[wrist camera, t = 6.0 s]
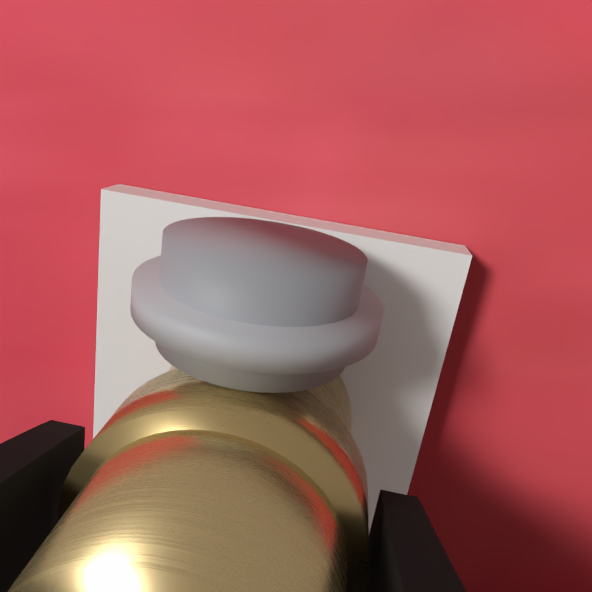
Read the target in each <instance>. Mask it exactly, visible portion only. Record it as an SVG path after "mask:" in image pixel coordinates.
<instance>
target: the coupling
mask: <svg viewBox="0 0 592 592" xmlns="http://www.w3.org/2000/svg"><path fill="white" fill-rule="evenodd" d="M351 418H352V412H351V404H350V399H349V395H348V392H347V389H346V387H345V384H344V382H343V380H342V378H341V377H340V375H339V376H338V377H337V378H335V379H334V380H332V381H331V382H329V383H326V384H324V385H322V386H319V387H315V388H312V389H307V390H302V391H295V392H283V393H263V392H251V391H242V390H236V389H231V388H226V387H222V386H218V385H214V384H211V383H208V382H205V381H202V380H199V379H197V378H194V377H192V376H190V375H188V374H186V373H184V372H182V371H180V370H179V369H177V368H176V367H174V366H173V365H172V366H171V368H170V369H169V370H168V372H166V373H163V374H161V375H159V376H157V377H155V378H153V379H151V380H149V381H147V382H146V383H145V384H143V385H142V386H140V387H139V388H138V389H136V390H135V391H134V392H133V393H132V394H131V395H130V396H129V397H128V398H127V399H126V400H124V401H123V403H122V404H121V405H120V406H119V408H118V409H117V410H116V411H115V413H114V414H113V415H112V416H111V418H110V419H109V420H108V421H107V423H106V424H105V425H104V426H103V428H102V429H101V430H100V431H99V433H98V434H97V435H96V436H95V437H94V439H93V440H92V441H91V442H90V444H89V445H88V446H87V447H86V449H85V450H84V451H83V452H82V454H81V455H80V456H79V458H78V459H77V461H76V462H75V463H74V465H73V466H72V468H71V470H70V472H69V474H68V476H67V478H66V480H65V482H64V485H63V489H62V492H61V495H60V502H59V509H58V523H57V524H56V525H55V527H54V528H53V530H52V531H51V532H50V534H49V535H48V536H47V538H46V539H45V541H44V542H43V543H42V545H41V546H40V547H39V549H38V550H37V552H36V553H35V554H34V556H33V557H32V558H31V560H30V561H29V563H28V564H27V565H26V567H25V568H24V569H23V571H22V572H21V574H20V575H19V576H18V578H17V579H16V580H15V582H14V583H13V584H12V586H11V587H10V589H9V590H8V591H7V592H363V589H364V587H365V583H366V578H367V574H368V567H369V520H368V484H367V476H366V470H365V466H364V463H363V459H362V456H361V453H360V451H359V449H358V447H357V444H356V442H355V440H354V439H353V437H352V435H351Z"/></svg>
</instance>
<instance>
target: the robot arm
mask: <svg viewBox="0 0 592 592" xmlns="http://www.w3.org/2000/svg"><path fill="white" fill-rule="evenodd" d="M84 438H85V427H82V426H77V425H72V424H68V423H63V422H58V421H53V420H50V421H48V422H46V423H43V424H41V425H39V426H37V427H34V428H32V429H30V430H28V431H26V432H24V433H22V434H20V435H18V436H16V437H13V438H11V439H9V440H7V441H5V442H3V443H1V444H0V592H7V591H8V590H9V589H10V587H11V586H12V584H13V583H14V582H15V580H16V579H17V578H18V576H19V575H20V574H21V572H22V571H23V569H24V568H25V567H26V565H27V564H28V563H29V561H30V560H31V558H32V557H33V556H34V554H35V553H36V552H37V550H38V549H39V547H40V546H41V545H42V543H43V542H44V541H45V539H46V538H47V536H48V535H49V534H50V532H51V531H52V530H53V528H54V527H55V525H56V524H57V523H58V509H59V502H60V495H61V492H62V489H63V485H64V482H65V480H66V478H67V476H68V474H69V472H70V470H71V468H72V466H73V465H74V463H75V462H76V461H77V459H78V458H79V456H80V455H81V454H82V452H83V451H84ZM363 592H467V591H466V589H465V587H464V585H463V584H462V582H461V580H460V578H459V576H458V575H457V573H456V571H455V569H454V567H453V565H452V563H451V562H450V560H449V558H448V556H447V554H446V552H445V550H444V548H443V546H442V544H441V542H440V540H439V538H438V536H437V534H436V532H435V530H434V528H433V526H432V524H431V522H430V520H429V518H428V516H427V514H426V512H425V510H424V508H423V506H422V504H421V502H420V501H419V499H418V498H417V497H414V496H409V495H404V494H400V493H395V492H390V491H385V490H381V489H380V493H379V497H378V501H377V505H376V509H375V513H374V517H373V520H372V524H371V528H370V532H369V567H368V574H367V578H366V583H365V587H364V589H363Z"/></svg>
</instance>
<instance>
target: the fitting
mask: <svg viewBox="0 0 592 592" xmlns="http://www.w3.org/2000/svg"><path fill="white" fill-rule="evenodd" d="M471 259H472V254H471V253H470V252H469V250H468V249H467V248H466V246H465V245H459V244H454V243H448V242H442V241H437V240H431V239H426V238H420V237H414V236H409V235H403V234H398V233H392V232H386V231H381V230H375V229H369V228H364V227H358V226H353V225H347V224H341V223H336V222H330V221H325V220H319V219H313V218H308V217H302V216H297V215H291V214H285V213H280V212H274V211H268V210H263V209H257V208H252V207H246V206H240V205H235V204H229V203H224V202H218V201H212V200H207V199H201V198H196V197H190V196H184V195H179V194H173V193H167V192H162V191H156V190H151V189H145V188H139V187H134V186H128V185H123V184H117V185H114V186H110V187H107V188H104V189H101V210H100V241H99V272H98V303H97V335H96V366H95V397H94V428H93V439H94V437H95V436H96V435H97V434H98V433H99V431H100V430H101V429H102V428H103V426H104V425H105V424H106V423H107V421H108V420H109V419H110V418H111V416H112V415H113V414H114V413H115V411H116V410H117V409H118V408H119V406H120V405H121V404H122V403H123V401H124V400H126V399H127V398H128V397H129V396H130V395H131V394H132V393H133V392H134V391H135V390H136V389H138V388H139V387H140V386H142V385H143V384H145V383H146V382H147V381H149V380H151V379H153V378H155V377H157V376H159V375H161V374H163V373H166V372H168V370H169V369H170V368H171V366H172V365H173V366H174V367H176V368H177V369H179V370H180V371H182V372H184V373H186V374H188V375H190V376H192V377H194V378H197V379H199V380H202V381H205V382H208V383H211V384H214V385H218V386H222V387H226V388H231V389H236V390H242V391H251V392H263V393H283V392H295V391H302V390H307V389H312V388H315V387H319V386H322V385H324V384H326V383H329V382H331V381H332V380H334V379H335V378H337V377H338V376H339V375H340V377H341V378H342V380H343V382H344V384H345V387H346V389H347V392H348V395H349V399H350V404H351V412H352V418H351V435H352V437H353V439H354V440H355V442H356V444H357V447H358V449H359V451H360V453H361V456H362V459H363V463H364V466H365V470H366V476H367V484H368V520H369V532H370V528H371V524H372V520H373V517H374V513H375V509H376V505H377V501H378V497H379V493H380V489H381V490H385V491H390V492H395V493H400V494H404V495H407V493H408V490H409V486H410V482H411V479H412V475H413V472H414V468H415V464H416V461H417V457H418V453H419V450H420V446H421V442H422V439H423V435H424V431H425V428H426V424H427V420H428V417H429V413H430V409H431V406H432V402H433V398H434V395H435V391H436V387H437V384H438V380H439V376H440V373H441V369H442V365H443V362H444V358H445V354H446V351H447V347H448V343H449V340H450V336H451V332H452V329H453V325H454V321H455V318H456V314H457V311H458V307H459V303H460V300H461V296H462V292H463V289H464V285H465V281H466V278H467V274H468V270H469V267H470V263H471Z"/></svg>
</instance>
